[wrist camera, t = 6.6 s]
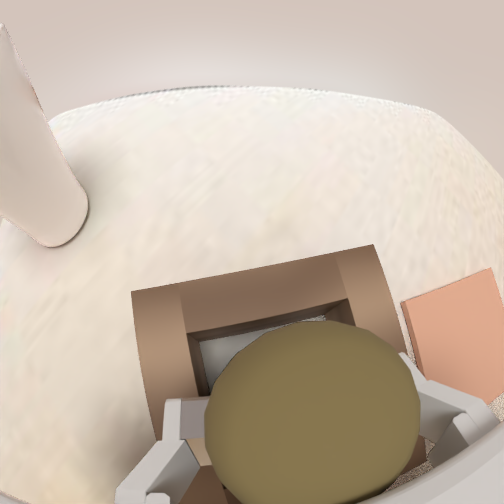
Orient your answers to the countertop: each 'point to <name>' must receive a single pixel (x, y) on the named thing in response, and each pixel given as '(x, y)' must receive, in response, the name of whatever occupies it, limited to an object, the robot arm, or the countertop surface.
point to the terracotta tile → (460, 335)
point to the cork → (312, 416)
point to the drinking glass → (33, 161)
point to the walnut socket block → (253, 327)
